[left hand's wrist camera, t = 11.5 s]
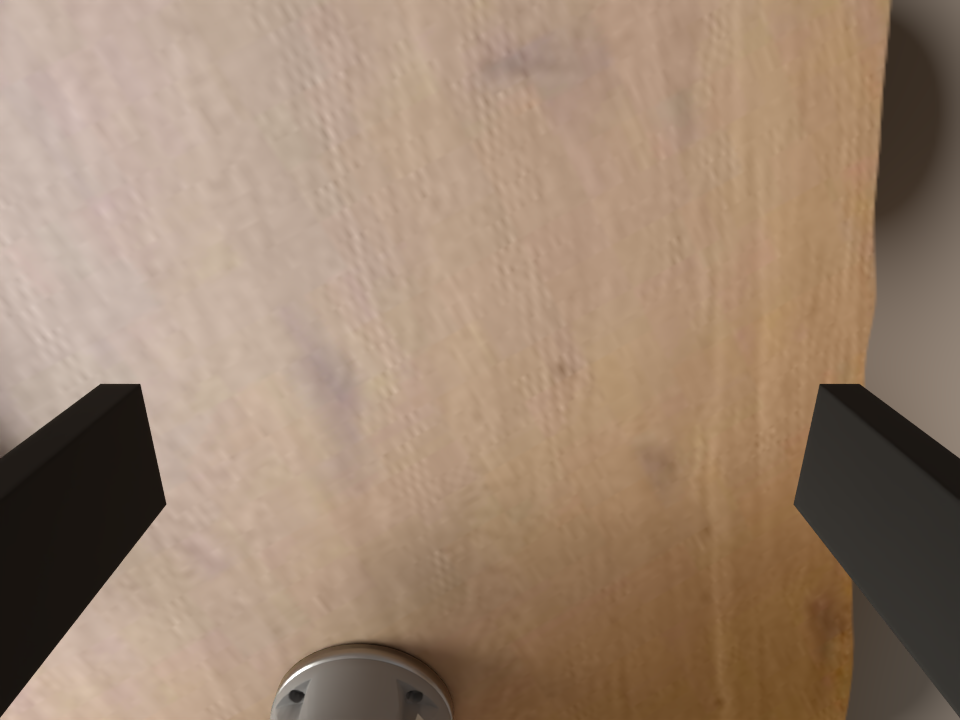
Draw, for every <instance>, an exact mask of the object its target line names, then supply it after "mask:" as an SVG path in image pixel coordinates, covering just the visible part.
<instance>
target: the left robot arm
mask: <svg viewBox="0 0 960 720" xmlns="http://www.w3.org/2000/svg"><path fill="white" fill-rule="evenodd" d="M165 505H166V500H165V496H164V491H163V487H162V482H161V477H160V473H159V468H158V464H157V459H156V454H155V450H154V445H153V441H152V436H151V431H150V427H149V422H148V417H147V413H146V408H145V404H144V399H143V394H142V390H141V385H140V384H100V385H99V386H97V387H96V388H95V389H93V390H92V391H90V392H89V393H88V394H86V395H85V396H84V397H82V398H81V399H80V400H78V401H77V402H76V403H74V404H73V405H72V406H70V407H69V408H68V409H66V410H65V411H64V412H62V413H61V414H60V415H58V416H57V417H56V418H54V419H53V420H52V421H50V422H49V423H47V424H46V425H45V426H43V427H42V428H41V429H39V430H38V431H37V432H35V433H34V434H33V435H31V436H30V437H29V438H27V439H26V440H25V441H23V442H22V443H21V444H19V445H18V446H17V447H15V448H14V449H13V450H11V451H10V452H8V453H7V454H6V455H4V456H3V457H2V458H0V717H1V716H2V715H3V713H4V712H5V711H6V710H7V708H8V707H9V706H10V704H11V703H12V702H13V701H14V699H15V698H16V697H17V695H18V694H19V693H20V692H21V690H22V689H23V688H24V686H25V685H26V684H27V683H28V681H29V680H30V679H31V677H32V676H33V675H34V674H35V672H36V671H37V670H38V668H39V667H40V666H41V665H42V663H43V662H44V661H45V659H46V658H47V657H48V656H49V654H50V653H51V652H52V651H53V649H54V648H55V647H56V645H57V644H58V643H59V642H60V640H61V639H62V638H63V636H64V635H65V634H66V633H67V631H68V630H69V629H70V627H71V626H72V625H73V624H74V622H75V621H76V620H77V618H78V617H79V616H80V615H81V613H82V612H83V611H84V609H85V608H86V607H87V606H88V604H89V603H90V602H91V600H92V599H93V598H94V597H95V595H96V594H97V593H98V591H99V590H100V589H101V588H102V586H103V585H104V584H105V582H106V581H107V580H108V579H109V577H110V576H111V575H112V573H113V572H114V571H115V570H116V568H117V567H118V566H119V565H120V563H121V562H122V561H123V559H124V558H125V557H126V556H127V554H128V553H129V552H130V550H131V549H132V548H133V547H134V545H135V544H136V543H137V541H138V540H139V539H140V538H141V536H142V535H143V534H144V532H145V531H146V530H147V529H148V527H149V526H150V525H151V523H152V522H153V521H154V520H155V518H156V517H157V516H158V514H159V513H160V512H161V511H162V509H163V508H164V507H165ZM794 505H795V507H796V508H797V509H798V511H799V512H800V513H801V514H802V516H803V517H804V518H805V520H806V521H807V522H808V523H809V525H810V526H811V527H812V529H813V530H814V531H815V532H816V534H817V535H818V536H819V538H820V539H821V540H822V541H823V543H824V544H825V545H826V547H827V548H828V549H829V550H830V552H831V553H832V554H833V556H834V557H835V558H836V559H837V561H838V562H839V563H840V565H841V566H842V567H843V568H844V570H845V571H846V572H847V573H848V575H849V576H850V577H851V579H852V580H853V581H854V582H855V584H856V585H857V586H858V588H859V589H860V590H861V591H862V593H863V594H864V595H865V597H866V598H867V599H868V600H869V602H870V603H871V604H872V606H873V607H874V608H875V609H876V611H877V612H878V613H879V615H880V616H881V617H882V618H883V620H884V621H885V622H886V624H887V625H888V626H889V627H890V629H891V630H892V631H893V633H894V634H895V635H896V636H897V638H898V639H899V640H900V641H901V643H902V644H903V645H904V646H905V648H906V649H907V651H908V652H909V653H910V654H911V656H912V657H913V658H914V659H915V661H916V662H917V663H918V665H919V666H920V667H921V668H922V670H923V671H924V672H925V674H926V675H927V676H928V677H929V679H930V680H931V681H932V682H933V684H934V685H935V686H936V688H937V689H938V690H939V692H940V693H941V694H942V695H943V697H944V698H945V699H946V700H947V702H948V703H949V704H950V706H951V707H952V708H953V709H954V711H955V712H956V713H957V715H958V716H959V717H960V458H958V457H957V456H956V455H954V454H953V453H951V452H950V451H949V450H947V449H946V448H945V447H943V446H942V445H941V444H939V443H938V442H937V441H935V440H934V439H933V438H931V437H930V436H929V435H927V434H926V433H925V432H923V431H922V430H921V429H919V428H918V427H917V426H915V425H914V424H913V423H911V422H910V421H908V420H907V419H906V418H904V417H903V416H902V415H900V414H899V413H898V412H896V411H895V410H894V409H892V408H891V407H890V406H888V405H887V404H886V403H884V402H883V401H882V400H880V399H879V398H877V397H876V396H875V395H873V394H872V393H871V392H869V391H868V390H867V389H865V388H864V387H863V386H861V385H860V384H820V385H819V390H818V394H817V399H816V404H815V408H814V413H813V417H812V422H811V427H810V431H809V436H808V441H807V445H806V450H805V454H804V459H803V464H802V468H801V473H800V477H799V482H798V487H797V491H796V496H795V500H794ZM270 720H453V703H452V699H451V696H450V693H449V691H448V689H447V687H446V686H445V684H444V683H443V681H442V680H441V679H440V677H439V676H438V675H437V674H436V673H435V672H434V671H433V670H432V669H431V668H429V667H428V666H427V665H426V664H424V663H423V662H421V661H420V660H418V659H416V658H414V657H412V656H410V655H408V654H406V653H404V652H401V651H398V650H395V649H392V648H388V647H384V646H378V645H370V644H347V645H339V646H334V647H330V648H326V649H323V650H320V651H318V652H315V653H313V654H311V655H309V656H307V657H305V658H304V659H302V660H301V661H299V662H298V663H297V664H295V665H294V666H293V667H292V668H291V669H290V670H289V671H288V672H287V674H286V675H285V676H284V678H283V679H282V681H281V683H280V685H279V688H278V691H277V694H276V696H275V699H274V702H273V705H272V710H271V717H270Z"/></svg>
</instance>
